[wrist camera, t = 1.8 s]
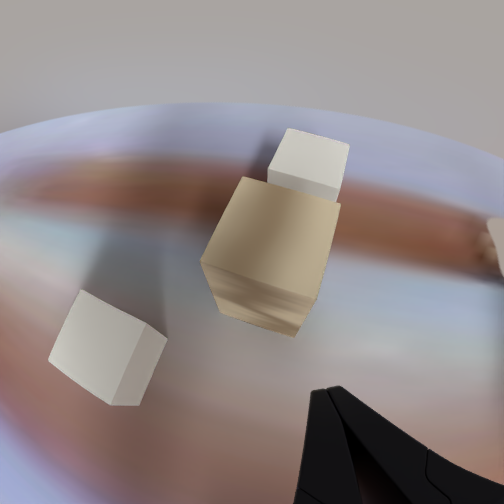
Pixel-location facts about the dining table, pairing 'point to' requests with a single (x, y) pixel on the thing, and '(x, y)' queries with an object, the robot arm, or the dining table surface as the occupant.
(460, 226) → the dining table surface
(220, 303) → the maple block
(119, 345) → the white block
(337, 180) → the white block
